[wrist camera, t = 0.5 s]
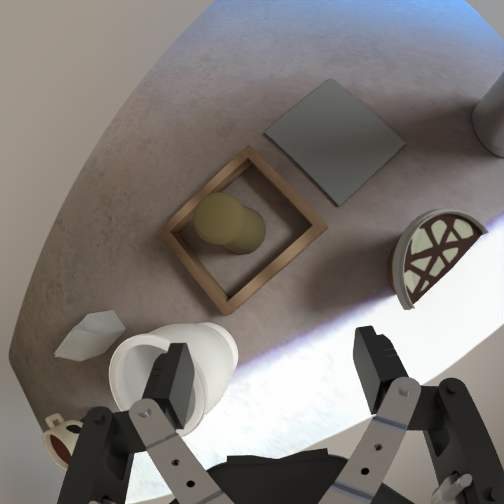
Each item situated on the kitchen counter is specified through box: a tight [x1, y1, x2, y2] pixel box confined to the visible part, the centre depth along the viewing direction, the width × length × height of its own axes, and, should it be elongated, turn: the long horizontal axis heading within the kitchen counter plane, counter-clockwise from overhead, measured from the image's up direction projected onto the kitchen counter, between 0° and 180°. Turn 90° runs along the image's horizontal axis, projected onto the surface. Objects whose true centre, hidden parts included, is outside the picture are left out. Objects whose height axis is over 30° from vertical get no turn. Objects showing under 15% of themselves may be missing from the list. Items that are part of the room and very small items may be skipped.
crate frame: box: [159, 146, 328, 316], centre depth 38 cm, size 16×14×2 cm
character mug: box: [43, 413, 86, 471], centre depth 36 cm, size 11×7×13 cm, turn 44°
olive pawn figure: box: [193, 192, 266, 255], centre depth 34 cm, size 6×6×11 cm
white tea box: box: [53, 310, 126, 361], centre depth 38 cm, size 4×7×10 cm, turn 133°
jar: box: [109, 322, 238, 437], centre depth 32 cm, size 11×10×15 cm
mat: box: [264, 78, 406, 206], centre depth 37 cm, size 13×14×1 cm
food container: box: [388, 209, 488, 310], centre depth 30 cm, size 12×6×10 cm, turn 129°
